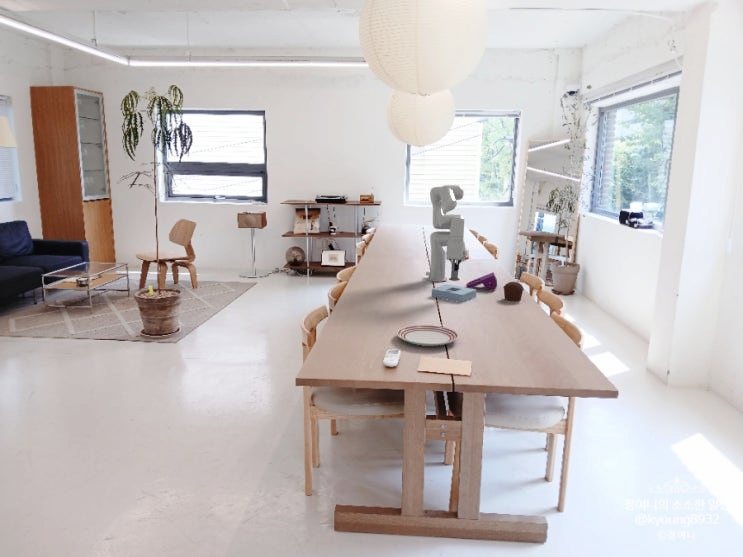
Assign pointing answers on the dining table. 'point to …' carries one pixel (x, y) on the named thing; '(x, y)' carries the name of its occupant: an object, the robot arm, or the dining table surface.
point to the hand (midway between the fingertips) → (455, 270)
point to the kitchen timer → (466, 253)
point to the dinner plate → (427, 335)
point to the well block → (454, 293)
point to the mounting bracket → (484, 282)
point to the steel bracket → (454, 273)
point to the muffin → (513, 291)
